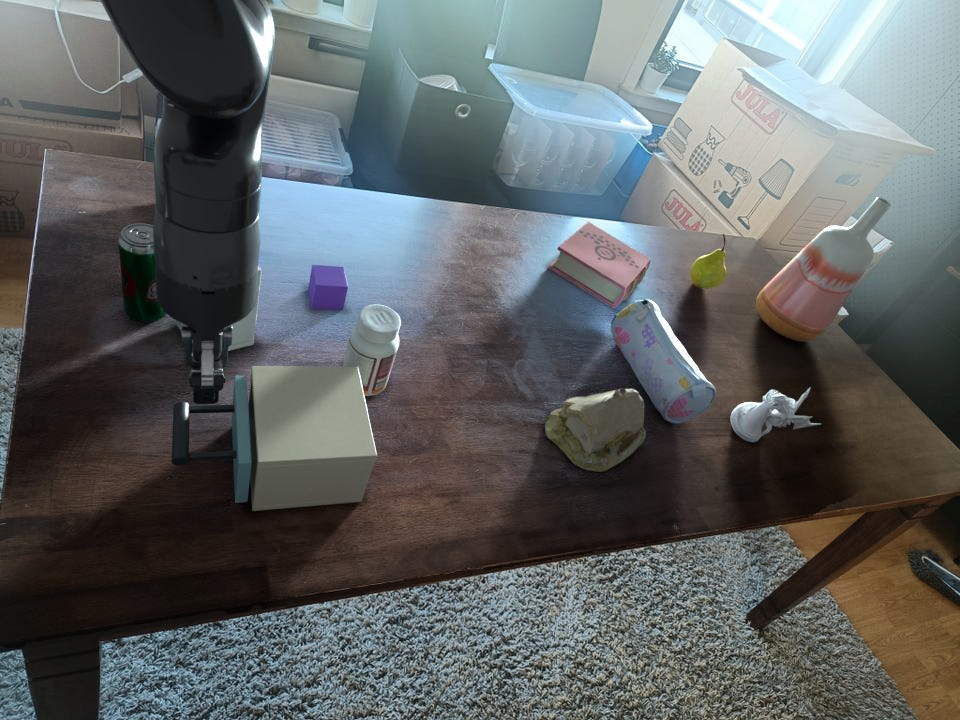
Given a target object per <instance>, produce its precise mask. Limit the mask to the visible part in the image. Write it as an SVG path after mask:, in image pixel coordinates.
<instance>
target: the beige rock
mask: <svg viewBox="0 0 960 720" xmlns="http://www.w3.org/2000/svg"><path fill="white" fill-rule="evenodd" d="M644 421H645V402H644V399H643V397H642V396H641V395H640V392H639V391H637V390H636V389H635V388H624V387H622V388H619V389H614V390H610V391H609V390H608V391H604V392H598V393H595V394H590V395H586V396H576V395H575V396H571V397H569V398H567V399H566V400H565V401H563V403H562V407H560V408H557V409H554V410H552V411H551V412H550V413H549V414H548V417H547V420H546V422H545V425H544V431H545V435H546V437H547V439H549V440H550V441H551V442H552V443H554V444H555V445H556V446H557V447H558V448H559V449H560V450H561V451H562V452H563V453H564V454H565V456H567V458H568V459H569V460H570V461H571V462H572V463H573V464H574V465H575V466H577V467H579V468H580V469H583V470H585V471H590V472H591V471H592V472H599V473H601V472H602V473H603V472H607V471H608V470H609V469H611V468H612V467H615V466H616V465H618V464H620V463H622V462H623V461H625V460H626V459H627V458H628V457H630V456H631V455H632V454H633V453H634V452H636V450H637V449H638V448H639V447H640V446H642V444H643V443H644V441H645V439H646V437H647V431H646V430H645V428H644V423H645V422H644Z"/></svg>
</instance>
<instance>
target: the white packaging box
mask: <svg viewBox="0 0 960 720" xmlns="http://www.w3.org/2000/svg"><path fill="white" fill-rule="evenodd" d="M261 278H262V269H261V267H260V266H259V265H258V277H257V289H256V300H255V305H254V307H253V309H252V311H251V312H250V313H249V314H248V315H247V316H246V317H245V318H243V319H242V320H240V321H239V322H236V323H234V324H232V325H230V326H232V345H231V346H230V347H229V348H228V352H230V351H233V350H237V349H241V348H242V349H243V348H245V347H251V346H253V345H255V338H256V328H257V317H258V308H259V297H260V291H261V290H260V288H261V280H262V279H261ZM175 324H176V326H177V328H178V329H179V331H180V333H182V325H183V323H181V322H179V321H177V320H175Z"/></svg>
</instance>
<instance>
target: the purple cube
mask: <svg viewBox="0 0 960 720" xmlns="http://www.w3.org/2000/svg"><path fill="white" fill-rule="evenodd" d="M308 281H309V282H308V295H309V303H310V307H311V310H324V311H325V310H329V311H343V310H344V307H345V303H346V299H347V294H348V288H349V283H348V281H347V276H346V271H345V267H344V266H338V265H322V264H312V265H311V269H310V275H309V280H308Z"/></svg>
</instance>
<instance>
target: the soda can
mask: <svg viewBox="0 0 960 720" xmlns="http://www.w3.org/2000/svg"><path fill="white" fill-rule="evenodd" d="M117 247H118V256H119V257H118V258H119V268H120V269H119V270H120V279H121V290H122V291H121V292H122V302H123V311H124V313H125V314H126V316H128V317H129V318H131V319H132V320H134V321H136V322H140V323H154V322H158V321H160V320H161V319H163V318H164V317H166V316H167V315H168V314H167V313H166V312H165V311H164V310H163V309H162V308H161V306H160V304H159V302H158V299H157V293H156V274H155V257H154V255H155V254H154V237H153V224H148V223H143V222H142V223H141V222H139V223H131V224H129V225H126V226H125V227H124V228H122V229H121V232H120V235H119V237H118V238H117Z"/></svg>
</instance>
